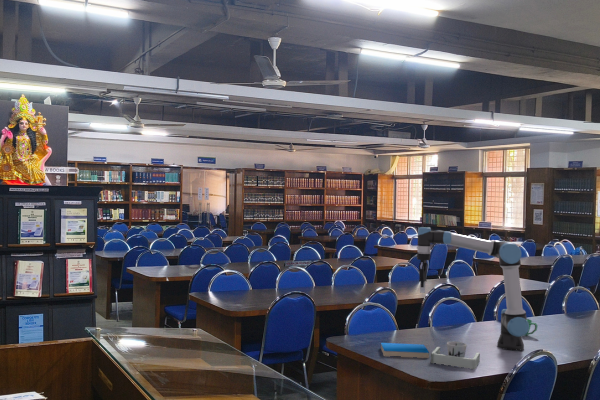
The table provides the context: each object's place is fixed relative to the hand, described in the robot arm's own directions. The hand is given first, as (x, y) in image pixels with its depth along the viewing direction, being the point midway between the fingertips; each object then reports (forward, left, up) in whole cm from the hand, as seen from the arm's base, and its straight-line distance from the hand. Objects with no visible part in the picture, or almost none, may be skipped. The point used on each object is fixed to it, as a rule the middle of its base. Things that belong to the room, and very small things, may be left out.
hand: (422, 292), depth 331 cm
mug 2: (-55, -68, -33) cm, 93 cm away
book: (+5, +20, -33) cm, 39 cm away
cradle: (-24, +22, -32) cm, 46 cm away
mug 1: (-24, +20, -33) cm, 45 cm away
